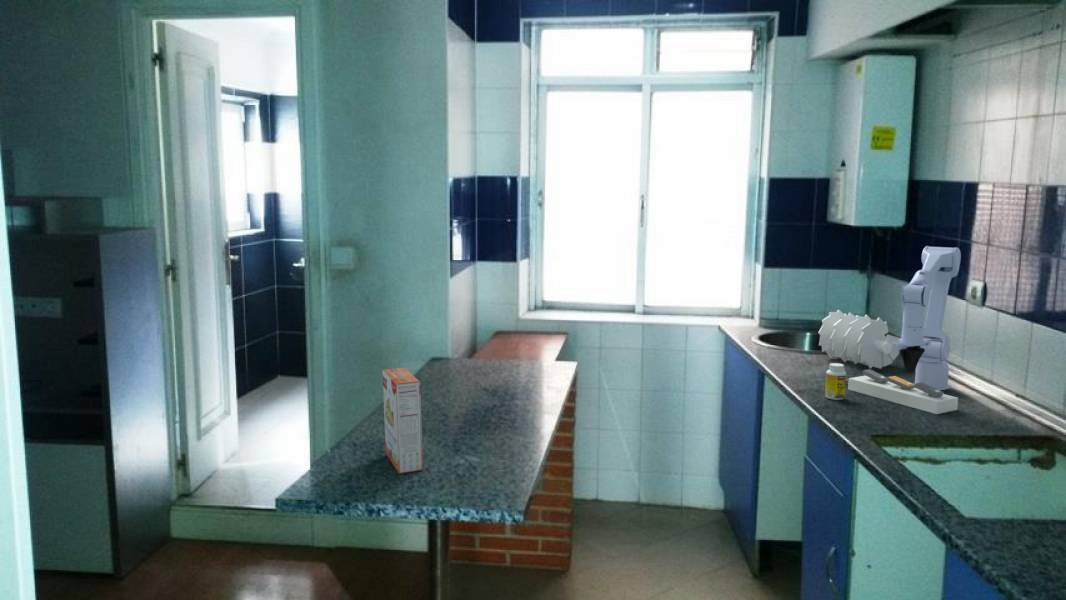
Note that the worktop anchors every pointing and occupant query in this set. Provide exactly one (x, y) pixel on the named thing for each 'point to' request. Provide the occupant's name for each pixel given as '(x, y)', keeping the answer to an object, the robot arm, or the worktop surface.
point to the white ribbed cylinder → (857, 339)
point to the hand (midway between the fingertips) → (909, 371)
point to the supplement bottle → (835, 382)
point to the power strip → (903, 395)
